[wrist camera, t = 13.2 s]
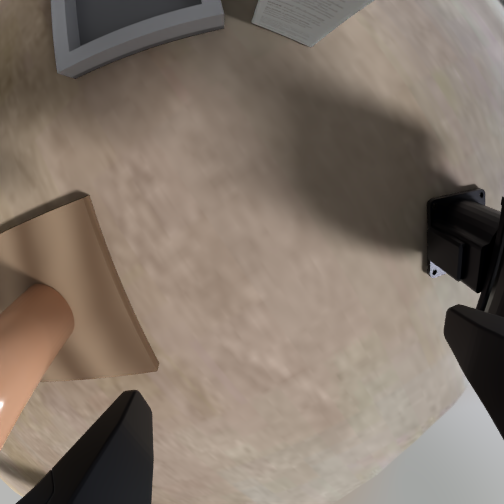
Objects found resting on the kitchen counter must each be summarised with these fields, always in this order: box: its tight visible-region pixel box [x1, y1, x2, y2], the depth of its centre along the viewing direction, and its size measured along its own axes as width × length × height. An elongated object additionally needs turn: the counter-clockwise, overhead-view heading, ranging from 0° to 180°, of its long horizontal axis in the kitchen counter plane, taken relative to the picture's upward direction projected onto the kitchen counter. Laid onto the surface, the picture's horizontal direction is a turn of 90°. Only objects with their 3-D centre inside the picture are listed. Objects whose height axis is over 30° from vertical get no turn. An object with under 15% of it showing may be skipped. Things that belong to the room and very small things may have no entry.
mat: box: [0, 195, 159, 382], centre depth 20 cm, size 14×14×1 cm
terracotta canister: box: [0, 284, 74, 451], centre depth 14 cm, size 5×5×12 cm
